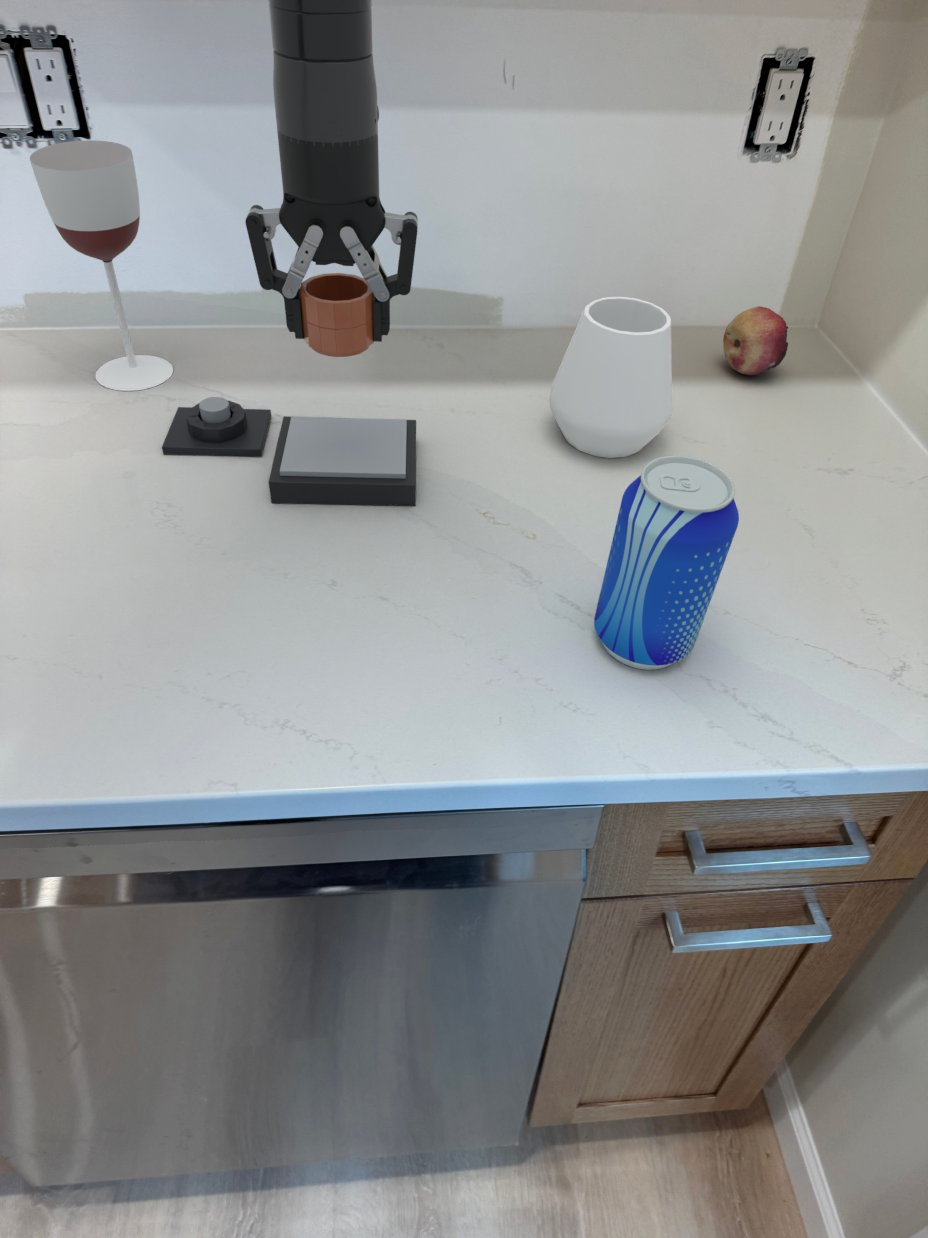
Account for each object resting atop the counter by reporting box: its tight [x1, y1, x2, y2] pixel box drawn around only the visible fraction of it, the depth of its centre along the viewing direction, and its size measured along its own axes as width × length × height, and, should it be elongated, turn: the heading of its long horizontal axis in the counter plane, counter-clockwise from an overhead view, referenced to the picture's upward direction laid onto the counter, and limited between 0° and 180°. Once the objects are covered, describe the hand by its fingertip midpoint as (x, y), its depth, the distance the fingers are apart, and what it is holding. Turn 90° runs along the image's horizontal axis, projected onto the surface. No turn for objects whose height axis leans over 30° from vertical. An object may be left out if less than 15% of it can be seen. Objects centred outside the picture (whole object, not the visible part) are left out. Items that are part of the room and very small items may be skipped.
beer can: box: [593, 455, 740, 671], centre depth 63 cm, size 8×8×16 cm
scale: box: [268, 415, 417, 507], centre depth 83 cm, size 14×12×3 cm
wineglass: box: [29, 139, 174, 392], centre depth 88 cm, size 9×10×23 cm
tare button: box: [199, 396, 231, 423], centre depth 86 cm, size 3×3×2 cm
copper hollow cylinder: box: [299, 272, 375, 358], centre depth 72 cm, size 6×6×5 cm
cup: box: [548, 296, 673, 459], centre depth 87 cm, size 13×13×14 cm
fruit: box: [722, 305, 789, 376], centre depth 102 cm, size 8×8×8 cm
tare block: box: [161, 399, 272, 457], centre depth 87 cm, size 10×8×2 cm
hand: (339, 335), depth 73 cm, fingers closed on copper hollow cylinder, 6 cm apart
